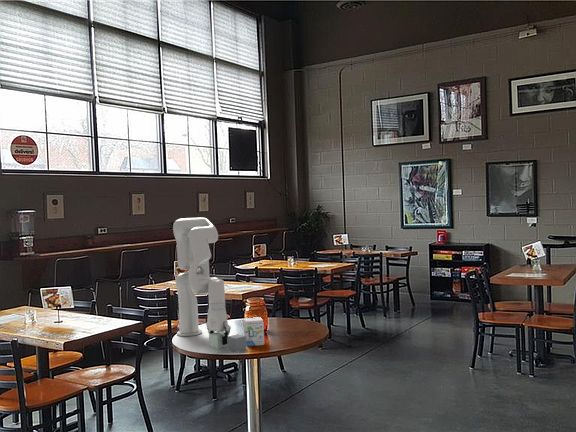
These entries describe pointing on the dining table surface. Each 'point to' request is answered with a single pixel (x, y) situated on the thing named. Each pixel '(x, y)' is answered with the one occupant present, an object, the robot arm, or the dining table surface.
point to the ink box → (254, 331)
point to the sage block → (216, 340)
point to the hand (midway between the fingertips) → (218, 342)
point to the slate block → (236, 343)
